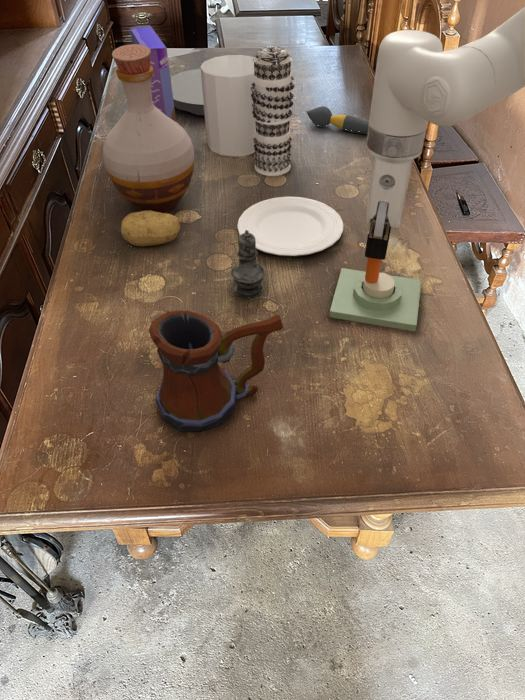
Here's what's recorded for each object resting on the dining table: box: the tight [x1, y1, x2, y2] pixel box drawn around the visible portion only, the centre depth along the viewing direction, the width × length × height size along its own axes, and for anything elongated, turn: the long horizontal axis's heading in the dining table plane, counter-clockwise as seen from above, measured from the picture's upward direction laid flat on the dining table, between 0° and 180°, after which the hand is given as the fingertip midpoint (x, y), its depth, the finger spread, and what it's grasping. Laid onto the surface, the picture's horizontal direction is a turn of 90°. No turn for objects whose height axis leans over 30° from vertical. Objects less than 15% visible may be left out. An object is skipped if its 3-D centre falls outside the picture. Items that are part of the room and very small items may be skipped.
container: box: [199, 54, 256, 157], centre depth 129 cm, size 14×14×18 cm
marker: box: [365, 225, 386, 283], centre depth 85 cm, size 2×2×11 cm
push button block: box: [328, 267, 422, 333], centre depth 91 cm, size 14×12×3 cm
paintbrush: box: [305, 105, 369, 135], centre depth 138 cm, size 20×5×5 cm, turn 71°
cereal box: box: [129, 24, 177, 123], centre depth 127 cm, size 17×5×24 cm, turn 20°
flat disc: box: [170, 67, 205, 116], centre depth 152 cm, size 28×28×4 cm
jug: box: [102, 43, 195, 214], centre depth 105 cm, size 20×18×30 cm
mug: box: [148, 310, 284, 432], centre depth 72 cm, size 18×12×15 cm, turn 99°
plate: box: [236, 196, 344, 258], centre depth 107 cm, size 21×21×2 cm
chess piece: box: [230, 230, 266, 299], centre depth 91 cm, size 6×6×12 cm
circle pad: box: [363, 271, 395, 299], centre depth 90 cm, size 5×5×2 cm
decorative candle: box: [251, 45, 295, 177], centre depth 117 cm, size 9×9×25 cm
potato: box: [120, 210, 181, 247], centre depth 103 cm, size 7×11×6 cm, turn 94°
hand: (376, 251), depth 85 cm, fingers closed on marker, 2 cm apart
